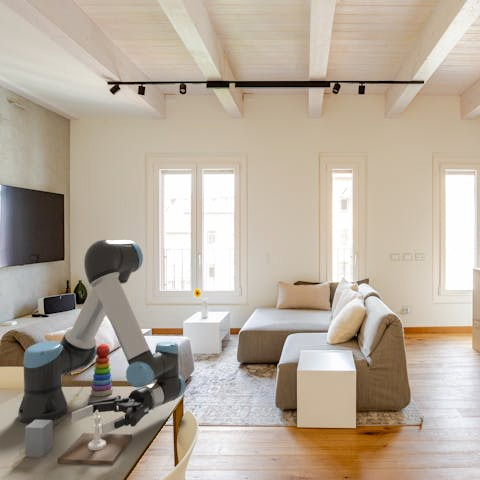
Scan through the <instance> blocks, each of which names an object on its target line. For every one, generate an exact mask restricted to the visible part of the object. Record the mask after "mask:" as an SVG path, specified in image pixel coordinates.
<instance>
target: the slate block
mask: <svg viewBox="0 0 480 480" xmlns="http://www.w3.org/2000/svg"><path fill="white" fill-rule="evenodd" d="M53 448H54V447H53V420H34V421H33V422H32V423H28V425H26V426H25V427H24V457H25V458H44V457H45V456H46V455H48V453H50V452H51V450H52V449H53Z"/></svg>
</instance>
